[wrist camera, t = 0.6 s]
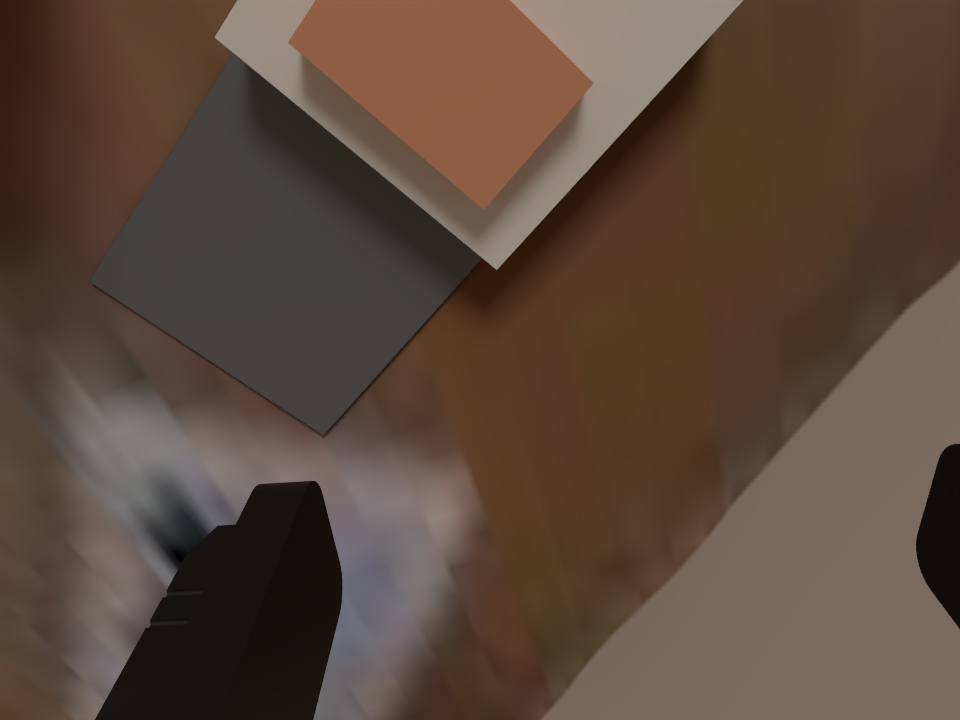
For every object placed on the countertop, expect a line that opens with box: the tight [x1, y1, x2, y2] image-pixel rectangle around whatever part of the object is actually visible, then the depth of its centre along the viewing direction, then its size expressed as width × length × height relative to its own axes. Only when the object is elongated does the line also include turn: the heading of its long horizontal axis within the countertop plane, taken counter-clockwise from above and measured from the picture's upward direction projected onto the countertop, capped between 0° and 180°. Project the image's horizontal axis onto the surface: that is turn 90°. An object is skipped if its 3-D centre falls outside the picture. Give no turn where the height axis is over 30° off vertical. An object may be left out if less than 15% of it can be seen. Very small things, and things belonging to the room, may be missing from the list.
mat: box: [89, 53, 482, 436], centre depth 33 cm, size 14×14×1 cm
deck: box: [215, 0, 743, 270], centre depth 27 cm, size 14×14×4 cm
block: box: [288, 0, 594, 210], centre depth 25 cm, size 6×9×2 cm, turn 49°
